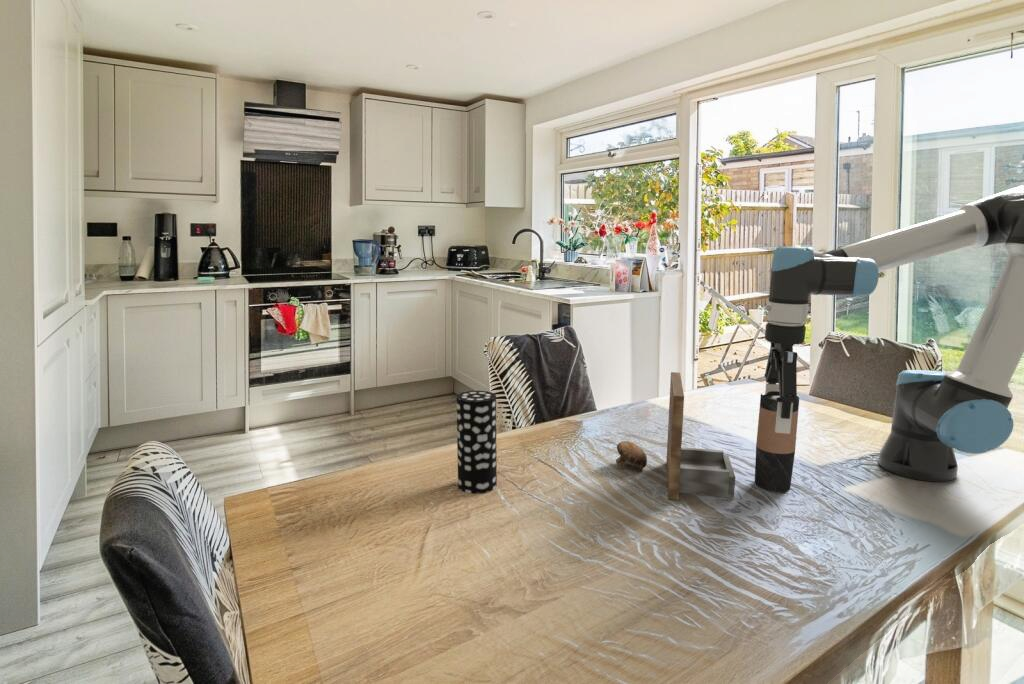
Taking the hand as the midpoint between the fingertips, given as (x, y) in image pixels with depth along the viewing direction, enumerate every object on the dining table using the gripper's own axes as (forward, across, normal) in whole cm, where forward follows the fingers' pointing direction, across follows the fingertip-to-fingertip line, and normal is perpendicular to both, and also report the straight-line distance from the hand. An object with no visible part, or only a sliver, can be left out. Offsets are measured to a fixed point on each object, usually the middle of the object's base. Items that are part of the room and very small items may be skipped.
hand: (775, 422), depth 130 cm
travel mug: (+14, 0, +1) cm, 14 cm away
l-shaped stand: (+14, +2, -15) cm, 21 cm away
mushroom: (+15, -4, -29) cm, 33 cm away
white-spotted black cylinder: (+15, +14, -61) cm, 65 cm away
